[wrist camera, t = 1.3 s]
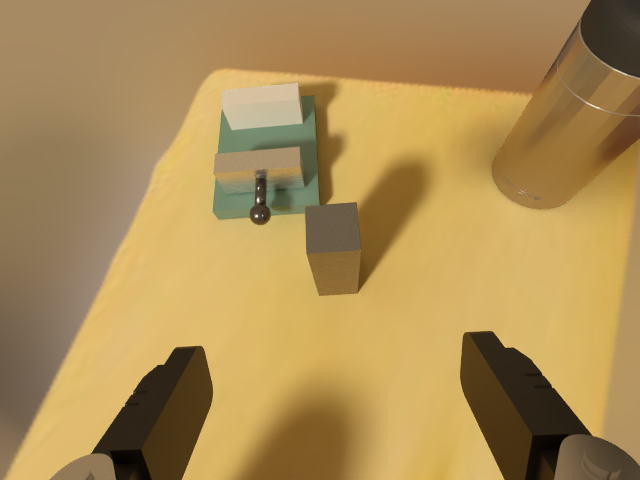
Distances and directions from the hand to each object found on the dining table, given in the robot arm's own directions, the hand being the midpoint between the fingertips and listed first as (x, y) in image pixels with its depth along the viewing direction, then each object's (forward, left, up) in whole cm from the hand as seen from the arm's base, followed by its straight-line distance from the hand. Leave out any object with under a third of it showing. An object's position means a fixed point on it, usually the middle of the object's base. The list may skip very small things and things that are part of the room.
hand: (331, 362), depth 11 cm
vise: (-14, -24, -24) cm, 37 cm away
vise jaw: (-8, -19, -22) cm, 30 cm away
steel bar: (-8, -7, -24) cm, 27 cm away
